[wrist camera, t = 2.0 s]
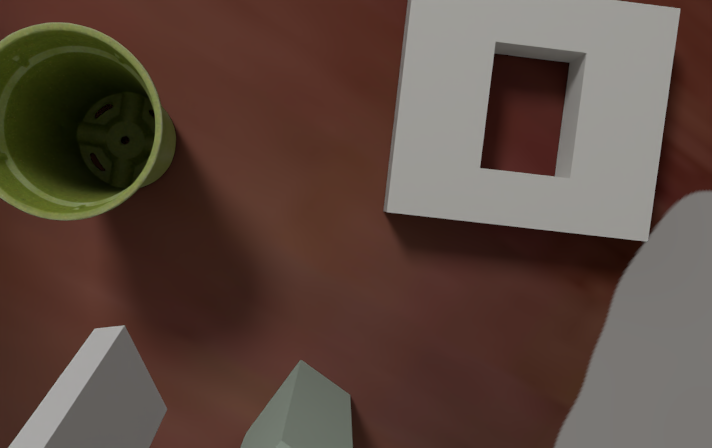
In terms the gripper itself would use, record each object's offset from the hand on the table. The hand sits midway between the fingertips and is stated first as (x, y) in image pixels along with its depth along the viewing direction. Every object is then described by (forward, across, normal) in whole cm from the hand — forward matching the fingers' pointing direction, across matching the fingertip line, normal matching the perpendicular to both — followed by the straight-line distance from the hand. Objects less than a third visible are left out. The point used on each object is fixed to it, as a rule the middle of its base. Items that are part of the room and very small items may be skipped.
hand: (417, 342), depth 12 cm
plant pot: (+23, -18, -1) cm, 29 cm away
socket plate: (+26, +6, -5) cm, 27 cm away
